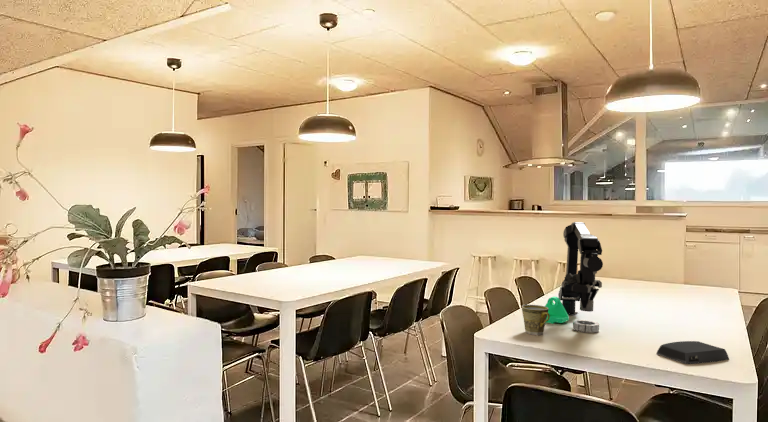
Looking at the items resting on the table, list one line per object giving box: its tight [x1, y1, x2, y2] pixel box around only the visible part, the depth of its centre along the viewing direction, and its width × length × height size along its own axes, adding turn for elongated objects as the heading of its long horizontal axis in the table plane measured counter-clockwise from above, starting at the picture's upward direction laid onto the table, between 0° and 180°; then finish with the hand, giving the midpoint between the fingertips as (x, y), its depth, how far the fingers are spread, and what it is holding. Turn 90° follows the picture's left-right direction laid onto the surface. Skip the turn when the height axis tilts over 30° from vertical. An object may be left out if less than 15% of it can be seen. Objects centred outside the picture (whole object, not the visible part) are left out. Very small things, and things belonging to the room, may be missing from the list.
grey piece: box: [572, 319, 600, 334], centre depth 208 cm, size 10×10×3 cm
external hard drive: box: [656, 340, 730, 365], centre depth 175 cm, size 13×19×4 cm
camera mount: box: [544, 296, 570, 325], centre depth 222 cm, size 12×8×10 cm, turn 50°
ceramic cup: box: [521, 304, 550, 336], centre depth 200 cm, size 13×10×10 cm
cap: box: [579, 299, 594, 313], centre depth 208 cm, size 5×5×4 cm
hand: (586, 307), depth 208 cm, fingers closed on cap, 5 cm apart
